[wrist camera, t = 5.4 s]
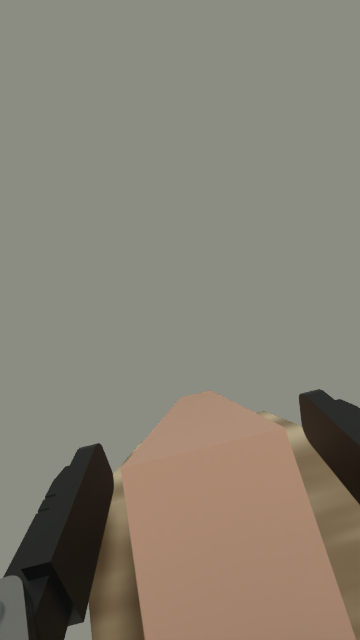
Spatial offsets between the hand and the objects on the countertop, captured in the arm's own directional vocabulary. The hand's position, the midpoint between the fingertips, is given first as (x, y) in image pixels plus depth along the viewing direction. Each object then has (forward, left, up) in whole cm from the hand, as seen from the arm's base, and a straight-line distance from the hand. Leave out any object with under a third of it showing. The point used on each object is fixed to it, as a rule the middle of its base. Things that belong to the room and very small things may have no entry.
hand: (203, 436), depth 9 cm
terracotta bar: (-3, -6, -3) cm, 7 cm away
